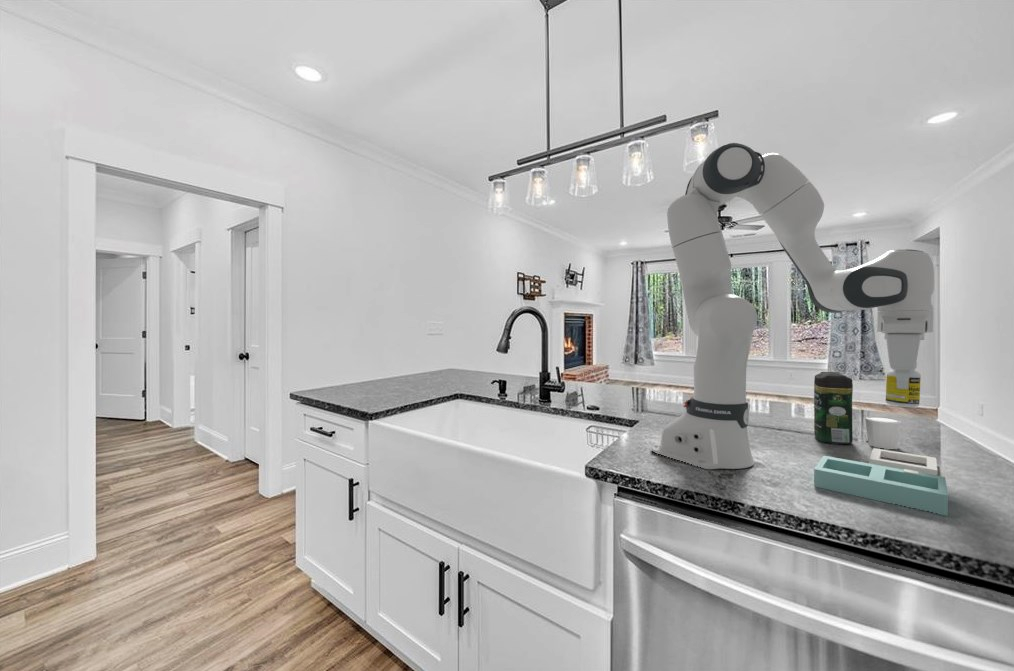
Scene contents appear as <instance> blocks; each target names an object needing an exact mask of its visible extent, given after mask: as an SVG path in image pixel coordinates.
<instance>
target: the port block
mask: <svg viewBox="0 0 1014 671" xmlns="http://www.w3.org/2000/svg"><path fill="white" fill-rule="evenodd" d="M946 479H947V478H946V477H945V476H942V475H938V474H937V475H931V474H926V473H920V472H918V471H913V470H907V469H904V470H903V469H897V468H891V467H886V466H880V465H874V464H869V462H864V461H863V462H862V461H858V460H857V461H856V460H851V459H846V458H845V459H844V458H840V457H839V458H838V457H834V456H827V455H823V456H821V458H820V460H819V461H818V463H817V464H816V466H815V467H814V470H813V482H814V483H813V487H814V486H815V488H820V489H823V490H824V489H825V490H828V491H833V492H837V493H842V494H846V495H850V496H855V497H859V498H865V499H870V500H874V501H878V502H884V503H888V504H891V503H892V505H895V504H898V505H897V506H900V505H902V506H901V507H904V506H906V507H905V508H909V507H911V508H910V509H913V508H916V509H915V510H918V509H920V510H919V511H922V510H924V511H923V512H927V511H929V512H928V513H931V512H933V514H936V513H937V514H936V515H941V516H944V517H945V516H946V517H948V515H949V514H948V512H949V508H948V507H949V505H948V503H949V493H948V486H947V481H946Z"/></svg>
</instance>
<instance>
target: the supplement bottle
mask: <svg viewBox="0 0 1014 671" xmlns="http://www.w3.org/2000/svg"><path fill="white" fill-rule="evenodd" d="M917 364H918V362H917V361H916V365H915V368H914V370H910V374H909V381H908V389H899V388H897V379H896V369H892V368H891V369H890V370H888V371H887V372H886V381H885V403H886V404H887V405H892V406H896V407H897V406H898V407H904V408H919V407H920V399H921V397H920V396H921V379H922V378H921V373H920V372H918V371H916V369H917Z"/></svg>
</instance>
